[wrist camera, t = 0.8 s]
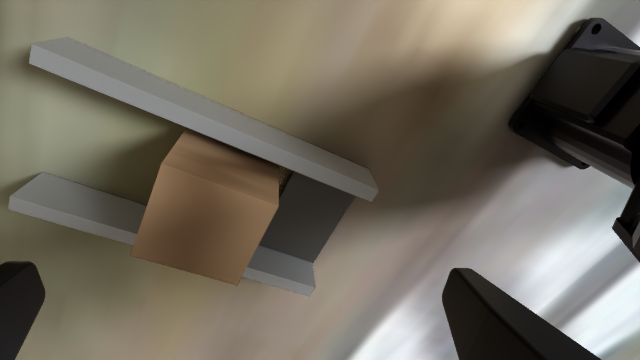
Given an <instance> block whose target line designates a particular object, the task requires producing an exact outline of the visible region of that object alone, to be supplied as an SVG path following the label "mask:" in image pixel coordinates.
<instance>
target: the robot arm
mask: <svg viewBox="0 0 640 360" xmlns="http://www.w3.org/2000/svg"><path fill="white" fill-rule="evenodd" d="M594 25H595V29H594V31H593V32H592V33H591V29H592V27H593V26H594ZM520 121H521V124H520V125H519V126H518V127H517V124H518V123H519V122H520ZM508 126H509V129H510V130H512V131H513V132H515V133H517V134H519V135H520V136H522V137H524V138H526V139H527V140H529V141H531V142H533V143H535V144H536V145H538V146H540V147H542V148H543V149H545V150H547V151H549V152H551V153H552V154H554V155H556V156H558V157H560V158H561V159H563V160H565V161H567V162H568V163H570V164H572V165H574V166H576V167H577V168H579V169H586V168H588V167H589V166H592V167H594V168H595V169H597V170H599V171H601V172H603V173H605V174H607V175H608V176H610V177H612V178H614V179H616V180H618V181H619V182H621V183H623V184H625V185H627V186H629V187H630V188H632V189H633V190H632V192H631V195H630V197H629V199H628V201H627V203H626V205H625V207H624V209H623V211H622V214H621V216H620V217H618V218H616V220H615V222H614V225H613V227H612V229H613V230H614V232H615V233H616V234H617V235H618V236H619V238H620V239H621V240H622V241H623V243H624V244H625V245H626V246H627V247H628V249H629V250H630V251H631V252H632V254H633V255H634V256H635V257H636V258H637V260H638V261H639V262H640V47H639V46H638V45H636V44H635V43H634V42H633V41H631V40H630V39H629V38H627V37H626V36H625V35H624V34H622V33H621V32H620V31H618V30H617V29H616V28H615V27H613V26H612V25H611V24H610V23H608V22H607V21H606V20H604V19H602V18H590V19H588V20H587V21H586V22H585V23H584V24H583V25H582V26H581V27H580V29H579V30H578V31H577V33H576V34H575V35H574V37H573V38H572V39H571V41H570V42H569V43H568V45H567V46H566V47H565V48H564V50H563V51H562V52H561V54H560V55H559V56H558V58H557V59H556V60H555V62H554V63H553V64H552V66H551V67H550V68H549V69H548V71H547V72H546V73H545V75H544V76H543V77H542V79H541V80H540V81H539V83H538V84H537V85H536V87H535V88H534V89H533V90H532V92H531V93H530V94H529V96H528V97H527V98H526V100H525V101H524V102H523V104H522V105H521V106H520V108H519V109H518V110H517V111H516V113H515V114H514V115H513V117H512V118H511V119H510V121H509V125H508ZM582 161H583V162H582ZM44 299H45V289H44V286H43V283H42V281H41V278H40V275H39V273H38V270H37V268H36V266H35V264H33V263H32V262H29V261H9V262H5V263H3V264H1V265H0V360H15V358H16V356H17V354H18V352H19V350H20V348H21V346H22V344H23V342H24V340H25V338H26V336H27V334H28V332H29V330H30V328H31V326H32V324H33V322H34V320H35V318H36V316H37V314H38V312H39V310H40V308H41V306H42V304H43V302H44ZM442 302H443V306H444V309H445V313H446V316H447V320H448V323H449V327H450V330H451V334H452V337H453V340H454V344H455V347H456V351H457V354H458V358H459V360H601V359H600V358H598V357H597V356H595V355H594V354H593V353H591V352H590V351H588V350H587V349H585V348H584V347H582V346H581V345H580V344H578V343H577V342H575V341H574V340H572V339H571V338H570V337H568V336H567V335H565V334H564V333H562V332H561V331H560V330H558V329H557V328H555V327H554V326H552V325H551V324H550V323H548V322H547V321H545V320H544V319H542V318H541V317H539V316H538V315H537V314H535V313H534V312H532V311H531V310H529V309H528V308H527V307H525V306H524V305H522V304H521V303H519V302H518V301H517V300H515V299H514V298H512V297H511V296H509V295H508V294H507V293H505V292H504V291H502V290H501V289H499V288H498V287H496V286H495V285H494V284H492V283H491V282H489V281H488V280H486V279H485V278H484V277H482V276H481V275H479V274H478V273H476V272H475V271H474V270H472V269H469V268H454V269H452V270H451V271H450V274H449V276H448V279H447V282H446V285H445V287H444V290H443V294H442Z"/></svg>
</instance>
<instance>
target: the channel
mask: <svg viewBox="0 0 640 360" xmlns="http://www.w3.org/2000/svg"><path fill="white" fill-rule="evenodd" d="M29 64H32V65H34V66H37V67H39V68H41V69H44V70H46V71H49V72H51V73H54V74H56V75H59V76H61V77H64V78H66V79H69V80H71V81H74V82H76V83H79V84H81V85H83V86H86V87H88V88H91V89H93V90H96V91H98V92H101V93H103V94H106V95H108V96H111V97H113V98H116V99H118V100H120V101H123V102H125V103H128V104H130V105H133V106H135V107H138V108H140V109H143V110H145V111H148V112H150V113H153V114H155V115H157V116H160V117H162V118H165V119H167V120H170V121H172V122H175V123H177V124H180V125H182V126H185V127H187V128H190V129H192V130H194V131H197V132H199V133H202V134H204V135H207V136H209V137H212V138H214V139H217V140H219V141H222V142H224V143H227V144H229V145H231V146H234V147H236V148H239V149H241V150H244V151H246V152H249V153H251V154H254V155H256V156H259V157H261V158H264V159H266V160H268V161H271V162H273V163H276V164H278V165H281V166H283V167H286V168H288V169H291V170H293V171H292V173H291V175H290V177H289V179H288V181H287V182H286V184H285V186H284V188H283V190H282V192H281V194H280V196H279V207H278V209H277V210H276V212H275V214H274V216H273V218H272V220H271V222H270V224H269V226H268V227H267V229H266V231H265V233H264V235H263V237H262V239H261V241H260V243H259V245H258V246H257V248H256V250H255V252H254V254H253V256H252V258H251V260H250V262H249V264H248V265H247V267H246V269H245V271H244V273H243V275H242V277H243V278H247V279H250V280H254V281H257V282H261V283H264V284H268V285H271V286H275V287H278V288H282V289H285V290H288V291H292V292H295V293H299V294H302V295H306V296H309V297H310V295H311V294H312V292H313V291H314V289H315V288H316V287H315V279H314V271H313V262H314V261H315V259H316V258H317V256H318V254H319V253H320V251H321V250H322V248H323V246H324V245H325V243H326V242H327V240H328V238H329V237H330V235H331V234H332V232H333V231H334V229H335V227H336V226H337V224H338V223H339V221H340V219H341V218H342V216H343V215H344V213H345V211H346V210H347V208H348V207H349V205H350V203H351V202H352V200H353V199H354V197H355V196H357V197H360V198H362V199H365V200H367V201H370V202H372V201H373V199H374V198H375V196H376V195H377V193H378V192H379V189H378V187H377V185H376V183H375V181H374V179H373V177H372V175H371V173H370V171H369V169H367V168H365V167H362V166H360V165H358V164H356V163H353V162H351V161H349V160H346V159H344V158H342V157H340V156H337V155H335V154H333V153H330V152H328V151H326V150H324V149H321V148H319V147H317V146H315V145H312V144H310V143H308V142H305V141H303V140H301V139H299V138H296V137H294V136H292V135H289V134H287V133H285V132H283V131H280V130H278V129H276V128H273V127H271V126H269V125H267V124H264V123H262V122H260V121H257V120H255V119H253V118H251V117H248V116H246V115H244V114H242V113H239V112H237V111H235V110H232V109H230V108H228V107H226V106H223V105H221V104H219V103H216V102H214V101H212V100H210V99H207V98H205V97H203V96H200V95H198V94H196V93H194V92H191V91H189V90H187V89H184V88H182V87H180V86H178V85H175V84H173V83H171V82H168V81H166V80H164V79H162V78H159V77H157V76H155V75H153V74H150V73H148V72H146V71H143V70H141V69H139V68H137V67H134V66H132V65H130V64H127V63H125V62H123V61H121V60H118V59H116V58H114V57H111V56H109V55H107V54H105V53H102V52H100V51H98V50H95V49H93V48H91V47H89V46H86V45H84V44H82V43H80V42H77V41H75V40H73V39H70V38H68V37H65V38H60V39H54V40H49V41H44V42H39V43H34V44H32V45H31V52H30V59H29ZM146 207H147V206H145V205H142V204H139V203H136V202H133V201H130V200H127V199H124V198H121V197H118V196H115V195H112V194H108V193H105V192H102V191H99V190H96V189H93V188H90V187H87V186H84V185H81V184H78V183H75V182H72V181H69V180H65V179H62V178H59V177H56V176H53V175H50V174H47V173H44V172H42V173H40V174H39V175H38V176H36V177H35V178H34V179H32V180H31V181H30V182H28V183H27V184H26V185H24V186H23V187H21V188H20V189H19V190H17V191H16V192H15V193H13V194H12V195H11V196H10V198H9V205H8V210H11V211H15V212H18V213H22V214H25V215H29V216H32V217H36V218H39V219H43V220H46V221H49V222H53V223H56V224H60V225H63V226H67V227H70V228H74V229H77V230H81V231H84V232H88V233H91V234H95V235H98V236H101V237H105V238H108V239H112V240H115V241H119V242H122V243H126V244H129V245H134V242H135V240H136V237H137V234H138V231H139V228H140V225H141V222H142V219H143V216H144V213H145V210H146Z"/></svg>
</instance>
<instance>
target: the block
mask: <svg viewBox="0 0 640 360" xmlns="http://www.w3.org/2000/svg"><path fill="white" fill-rule="evenodd" d="M278 207H279V165H278V164H276V163H273V162H271V161H268V160H266V159H264V158H261V157H259V156H256V155H254V154H251V153H249V152H246V151H244V150H241V149H239V148H236V147H234V146H231V145H229V144H227V143H224V142H222V141H219V140H217V139H214V138H212V137H209V136H207V135H204V134H202V133H199V132H197V131H194V130H192V129H190V128H186V129H185V131H184V132H183V133H182V135H181V136H180V138H179V139H178V141H177V142H176V143H175V145H174V146H173V148H172V149H171V150H170V152H169V153H168V155H167V156H166V158H165V159H164V160H163V162H162V163H161V166H160V169H159V172H158V175H157V178H156V181H155V184H154V187H153V190H152V193H151V195H150V198H149V201H148V204H147V207H146V210H145V213H144V216H143V219H142V222H141V225H140V228H139V231H138V234H137V237H136V240H135V242H134V245H133V248H132V251H131V254H130V256H134V257H138V258H141V259H145V260H148V261H152V262H155V263H159V264H162V265H166V266H170V267H173V268H177V269H180V270H184V271H187V272H191V273H195V274H198V275H202V276H205V277H209V278H212V279H216V280H220V281H223V282H227V283H230V284H234V285H237V284H238V282H239V281H240V279H241V277H242V275H243V273H244V271H245V269H246V267H247V265H248V264H249V262H250V260H251V258H252V256H253V254H254V252H255V250H256V248H257V246H258V245H259V243H260V241H261V239H262V237H263V235H264V233H265V231H266V229H267V227H268V226H269V224H270V222H271V220H272V218H273V216H274V214H275V212H276V210H277V209H278Z"/></svg>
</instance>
